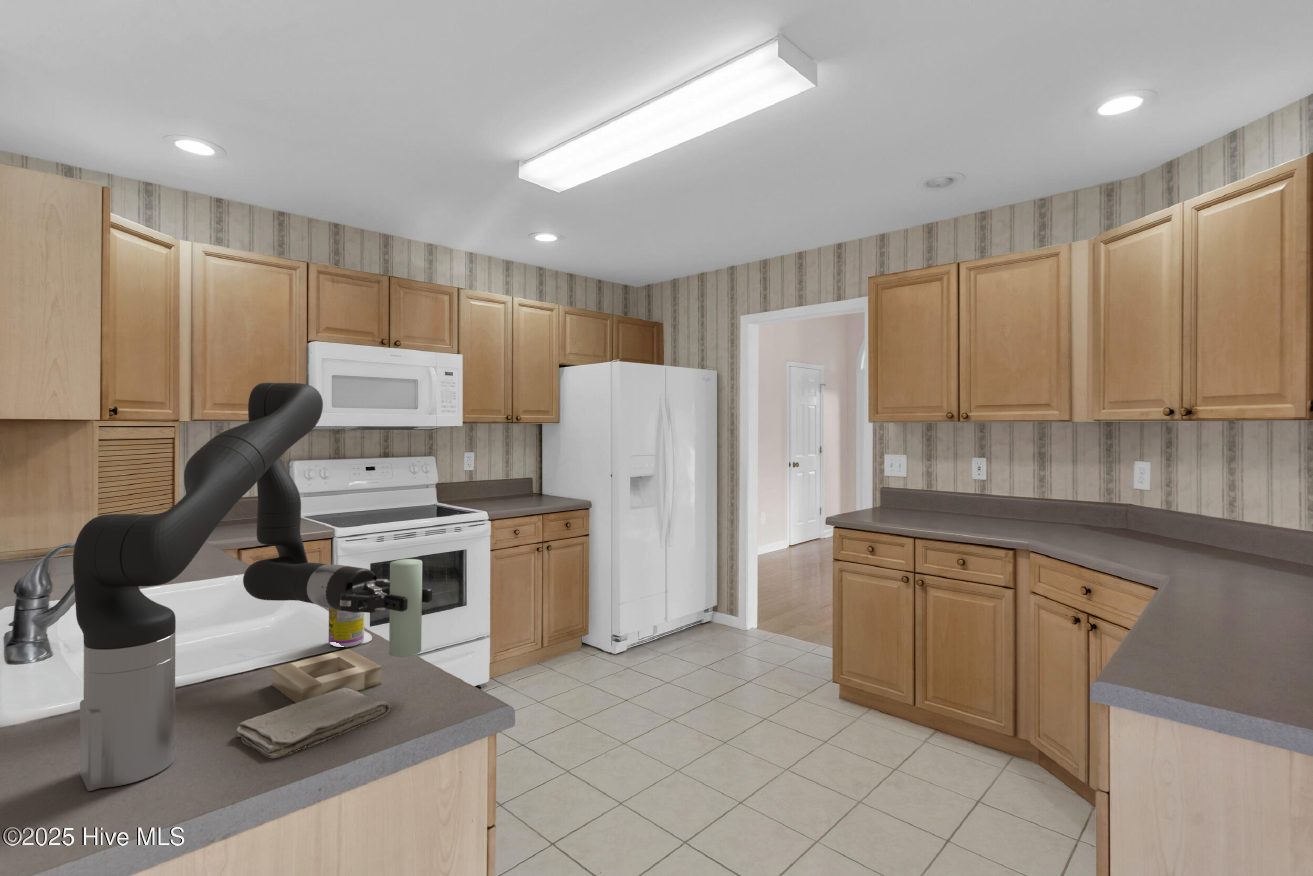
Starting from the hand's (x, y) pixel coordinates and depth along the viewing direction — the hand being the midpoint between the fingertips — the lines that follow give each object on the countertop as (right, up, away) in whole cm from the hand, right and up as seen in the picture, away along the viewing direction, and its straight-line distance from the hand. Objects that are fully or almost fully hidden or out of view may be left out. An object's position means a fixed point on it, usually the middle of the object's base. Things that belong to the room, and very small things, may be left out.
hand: (418, 600), depth 106 cm
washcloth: (-12, -17, -9) cm, 23 cm away
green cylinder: (-3, -9, +1) cm, 9 cm away
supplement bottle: (-25, -16, +26) cm, 39 cm away
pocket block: (-18, -16, +5) cm, 25 cm away
